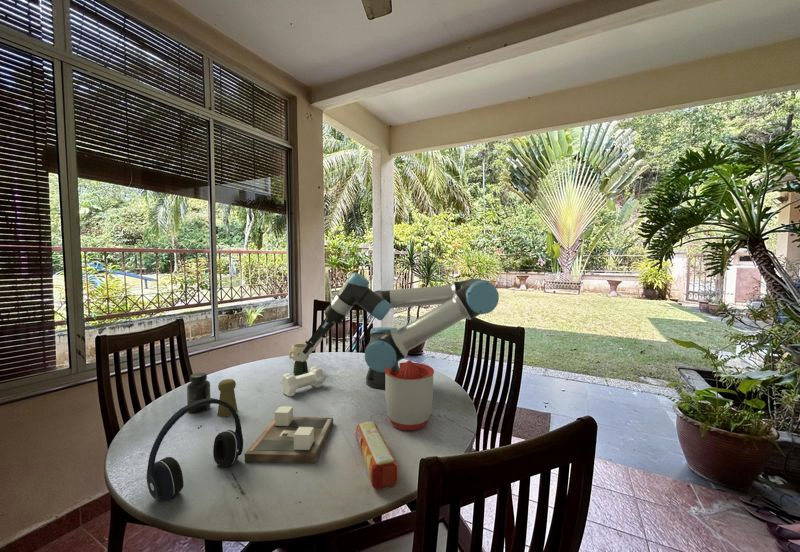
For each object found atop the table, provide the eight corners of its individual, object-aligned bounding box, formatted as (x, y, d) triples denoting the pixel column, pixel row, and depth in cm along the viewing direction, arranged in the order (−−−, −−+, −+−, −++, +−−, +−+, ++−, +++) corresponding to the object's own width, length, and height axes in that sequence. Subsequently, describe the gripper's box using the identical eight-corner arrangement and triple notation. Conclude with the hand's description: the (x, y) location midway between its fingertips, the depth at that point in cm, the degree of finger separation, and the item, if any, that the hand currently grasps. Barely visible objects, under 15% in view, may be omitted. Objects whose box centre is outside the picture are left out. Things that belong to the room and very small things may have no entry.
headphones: (231, 452, 89) (230, 385, 88) (247, 461, 85) (246, 390, 84) (143, 498, 72) (140, 415, 71) (158, 511, 68) (155, 424, 67)
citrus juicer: (404, 405, 118) (405, 349, 117) (443, 422, 106) (444, 360, 105) (370, 419, 107) (370, 358, 106) (409, 441, 95) (410, 372, 94)
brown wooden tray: (333, 424, 104) (333, 417, 104) (314, 463, 84) (314, 454, 84) (276, 422, 105) (276, 415, 105) (244, 461, 85) (244, 452, 85)
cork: (241, 410, 114) (241, 378, 113) (227, 418, 108) (226, 384, 107) (228, 407, 116) (227, 376, 115) (213, 415, 110) (212, 382, 109)
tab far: (292, 419, 103) (292, 406, 102) (288, 425, 99) (288, 412, 99) (280, 419, 103) (280, 406, 103) (274, 425, 99) (274, 412, 99)
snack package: (354, 443, 94) (354, 420, 94) (377, 439, 96) (377, 416, 96) (370, 494, 74) (371, 464, 74) (399, 488, 76) (399, 459, 76)
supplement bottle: (213, 409, 114) (212, 374, 114) (190, 415, 109) (189, 379, 109) (206, 403, 119) (206, 369, 118) (184, 409, 114) (183, 374, 113)
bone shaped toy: (290, 400, 123) (291, 379, 122) (279, 391, 129) (280, 371, 128) (325, 389, 134) (326, 370, 133) (313, 381, 140) (314, 363, 139)
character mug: (293, 379, 143) (293, 349, 142) (285, 374, 148) (285, 345, 147) (315, 372, 151) (315, 344, 150) (307, 369, 156) (307, 341, 155)
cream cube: (313, 441, 90) (313, 427, 90) (309, 450, 86) (309, 435, 86) (299, 441, 91) (299, 426, 90) (294, 449, 87) (293, 434, 86)
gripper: (337, 299, 138) (307, 340, 139) (321, 308, 113) (285, 358, 114) (351, 310, 138) (322, 350, 139) (339, 321, 113) (303, 371, 114)
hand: (305, 354), depth 127 cm, fingers open, 13 cm apart
